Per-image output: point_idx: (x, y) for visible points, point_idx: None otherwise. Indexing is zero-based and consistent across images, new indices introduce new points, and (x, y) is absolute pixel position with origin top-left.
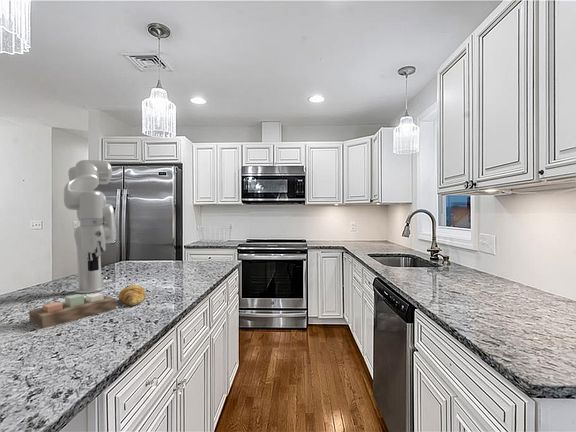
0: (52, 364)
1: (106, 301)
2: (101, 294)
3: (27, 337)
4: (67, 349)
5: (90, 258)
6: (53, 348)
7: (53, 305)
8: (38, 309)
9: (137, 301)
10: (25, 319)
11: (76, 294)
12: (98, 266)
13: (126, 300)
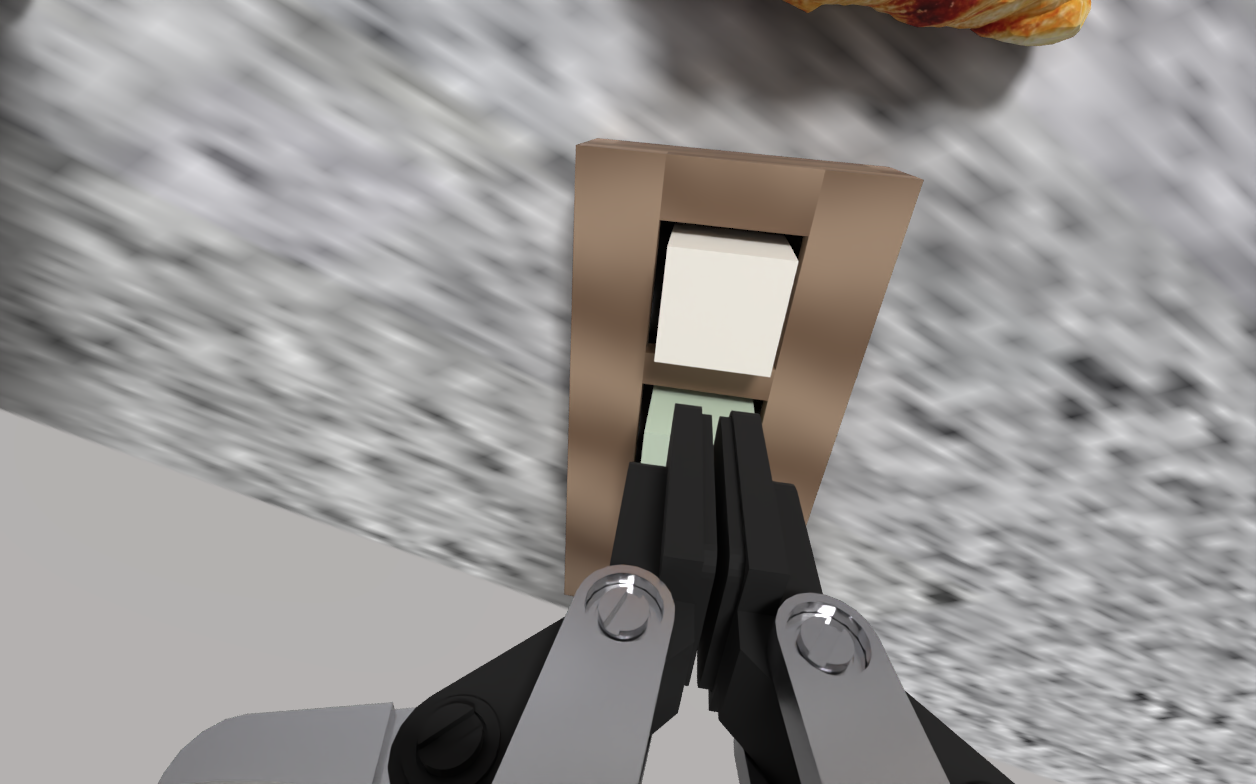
0: (1223, 746)
1: (886, 279)
2: (774, 270)
3: None
4: (1168, 675)
5: (751, 773)
6: (1080, 679)
7: None
8: (590, 572)
9: None
10: (510, 529)
11: (647, 447)
12: (764, 450)
13: (936, 24)
